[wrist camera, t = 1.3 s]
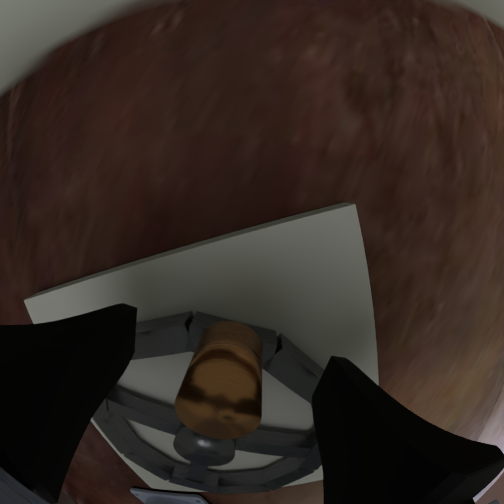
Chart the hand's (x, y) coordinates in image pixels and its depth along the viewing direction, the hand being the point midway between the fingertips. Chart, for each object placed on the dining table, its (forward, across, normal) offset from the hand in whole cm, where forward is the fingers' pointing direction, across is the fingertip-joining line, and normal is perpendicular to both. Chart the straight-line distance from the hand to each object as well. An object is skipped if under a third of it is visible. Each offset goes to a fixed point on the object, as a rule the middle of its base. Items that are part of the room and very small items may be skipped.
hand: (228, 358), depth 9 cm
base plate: (+4, 0, +6) cm, 7 cm away
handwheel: (+2, 0, +6) cm, 6 cm away
